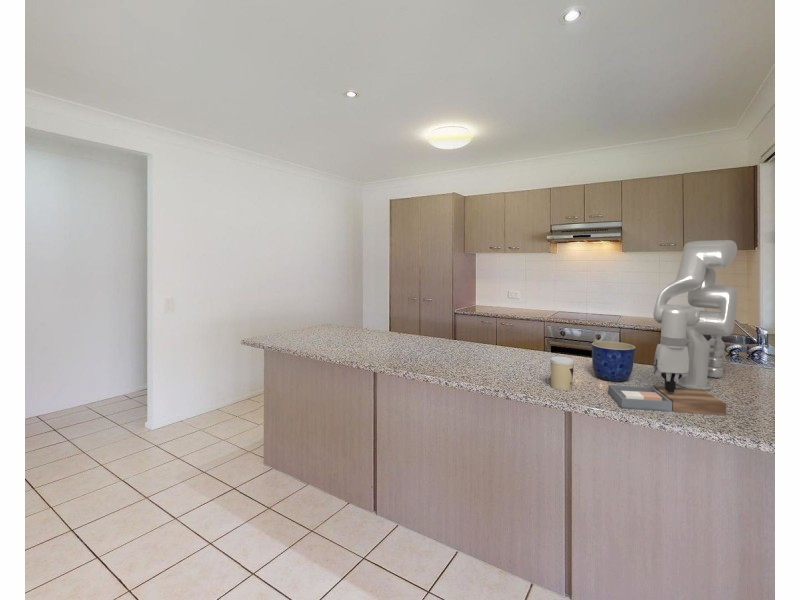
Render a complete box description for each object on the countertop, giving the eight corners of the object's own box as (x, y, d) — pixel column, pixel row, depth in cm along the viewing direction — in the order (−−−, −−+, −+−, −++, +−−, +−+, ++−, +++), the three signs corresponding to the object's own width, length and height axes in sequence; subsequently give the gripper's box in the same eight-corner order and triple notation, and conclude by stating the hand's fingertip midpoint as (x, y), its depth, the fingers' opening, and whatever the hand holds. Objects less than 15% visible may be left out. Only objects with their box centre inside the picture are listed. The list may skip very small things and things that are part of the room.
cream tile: (638, 391, 151) (637, 398, 152) (620, 390, 153) (620, 396, 153) (644, 396, 145) (643, 403, 146) (625, 395, 147) (625, 402, 147)
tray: (608, 393, 158) (608, 385, 158) (653, 396, 155) (653, 387, 155) (621, 408, 143) (622, 398, 142) (671, 411, 140) (672, 401, 139)
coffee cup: (575, 391, 161) (577, 362, 160) (551, 390, 163) (552, 361, 161) (570, 384, 170) (571, 356, 169) (547, 383, 172) (548, 356, 170)
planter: (640, 385, 168) (642, 349, 167) (597, 383, 171) (599, 348, 169) (624, 374, 185) (626, 341, 183) (585, 372, 188) (586, 340, 186)
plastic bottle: (714, 374, 183) (717, 331, 181) (726, 379, 176) (730, 334, 174) (700, 375, 183) (703, 331, 181) (712, 379, 176) (715, 334, 174)
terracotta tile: (637, 397, 152) (637, 391, 152) (655, 398, 151) (655, 392, 150) (643, 403, 146) (643, 396, 146) (661, 404, 145) (662, 397, 144)
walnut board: (653, 396, 155) (654, 386, 155) (700, 399, 152) (701, 388, 151) (672, 411, 139) (673, 400, 139) (725, 415, 136) (726, 403, 136)
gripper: (691, 340, 147) (688, 389, 148) (646, 339, 150) (643, 386, 152) (701, 344, 139) (698, 396, 141) (653, 343, 143) (650, 393, 145)
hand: (669, 391), depth 147 cm, fingers closed
